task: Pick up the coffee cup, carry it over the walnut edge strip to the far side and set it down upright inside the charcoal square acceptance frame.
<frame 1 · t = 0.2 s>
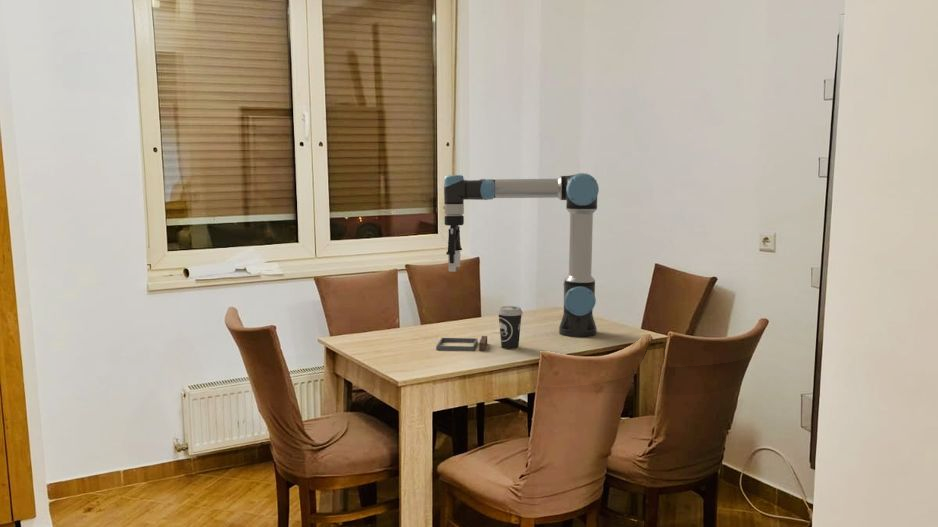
hand: (454, 269, 305), 28 cm above the table, fingers open, 13 cm apart
coffee cup: (509, 347, 293), on the table
edge strip: (483, 347, 293), on the table
acceptance frame: (457, 345, 295), on the table
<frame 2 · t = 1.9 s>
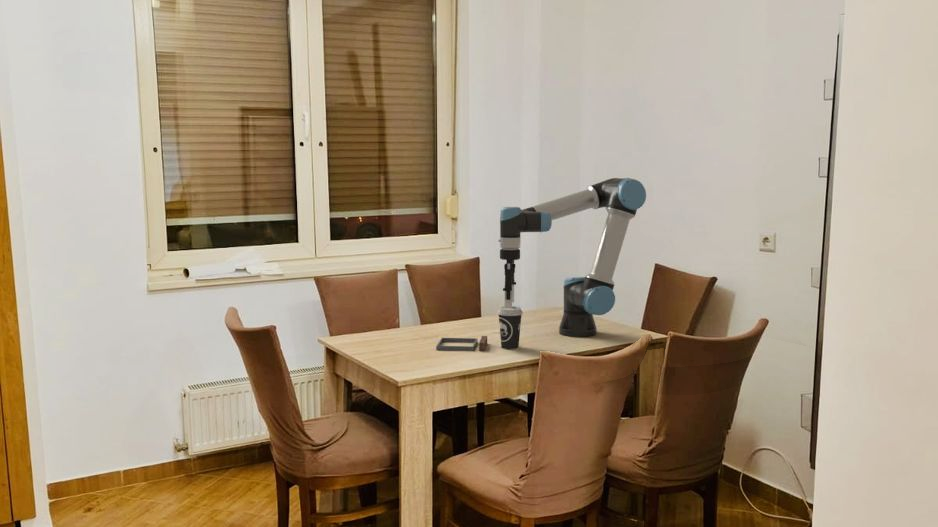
hand: (509, 305, 291), 16 cm above the table, fingers open, 13 cm apart
nothing on the table moved.
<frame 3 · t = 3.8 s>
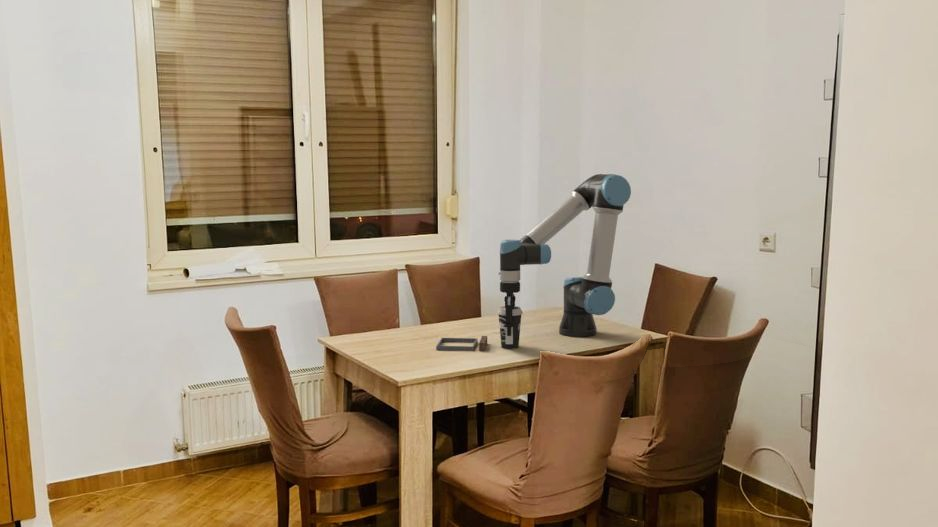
hand: (509, 341, 293), 2 cm above the table, fingers closed on coffee cup, 7 cm apart
coffee cup: (509, 347, 293), on the table, touching gripper
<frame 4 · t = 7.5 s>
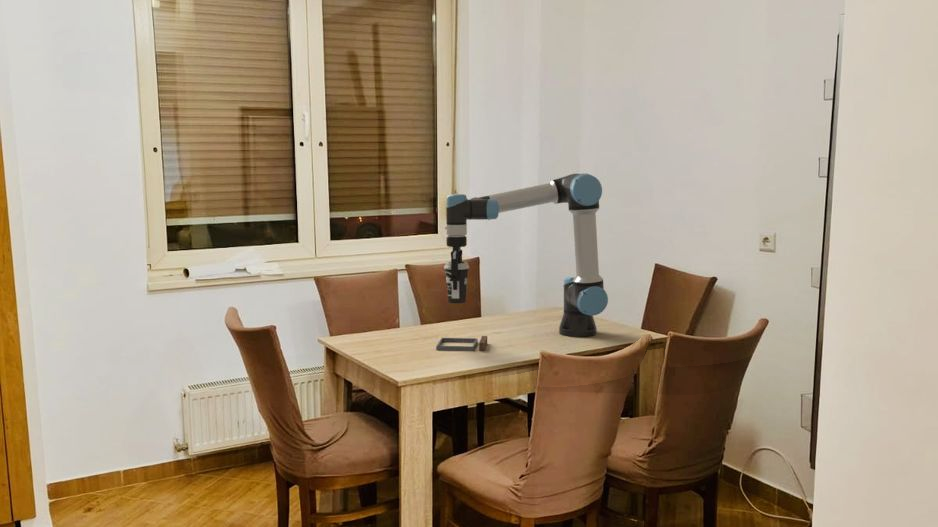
hand: (456, 296, 293), 19 cm above the table, fingers closed on coffee cup, 7 cm apart
coffee cup: (456, 302, 294), point 17 cm above the table, touching gripper
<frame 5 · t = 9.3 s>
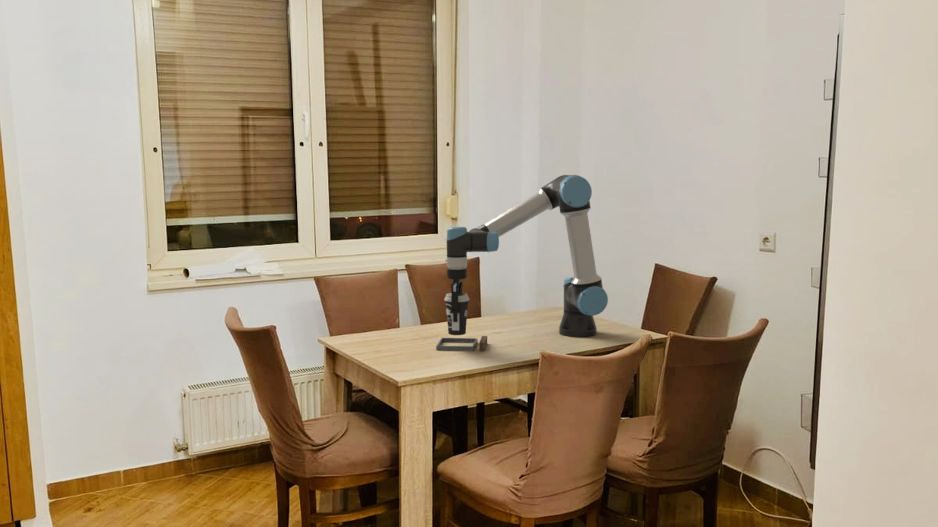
hand: (456, 328, 295), 7 cm above the table, fingers closed on coffee cup, 7 cm apart
coffee cup: (457, 333, 295), point 5 cm above the table, touching gripper
when the fingers open (4 cm above the table, at t = 11.0 s): coffee cup moves 3 cm, point 1 cm above the table.
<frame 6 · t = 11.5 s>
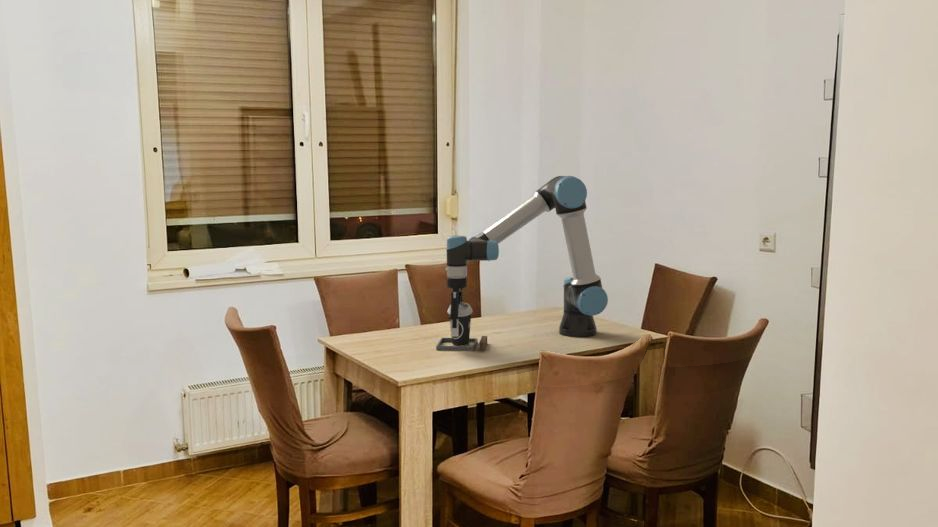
hand: (457, 332, 295), 5 cm above the table, fingers open, 13 cm apart
coffee cup: (460, 342, 299), point 1 cm above the table
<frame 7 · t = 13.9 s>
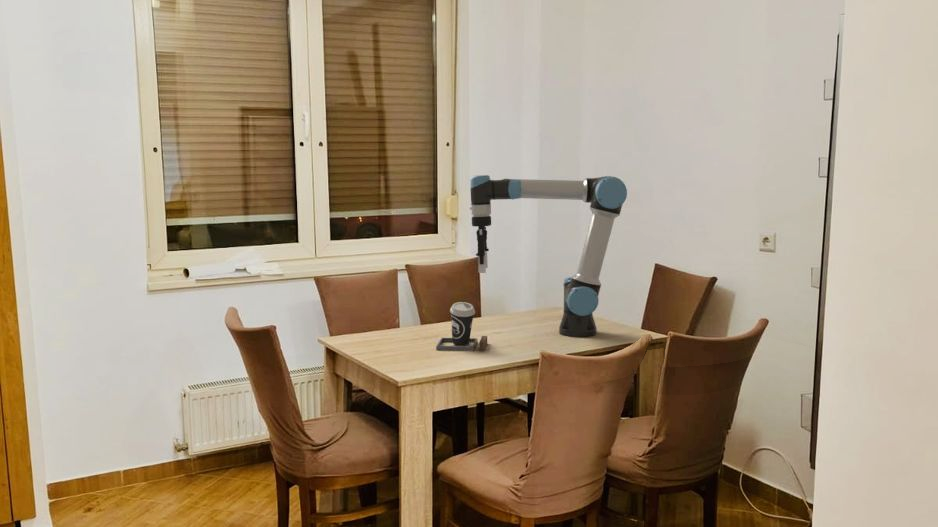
hand: (483, 270, 302), 28 cm above the table, fingers open, 13 cm apart
coffee cup: (460, 342, 299), point 1 cm above the table, touching acceptance frame
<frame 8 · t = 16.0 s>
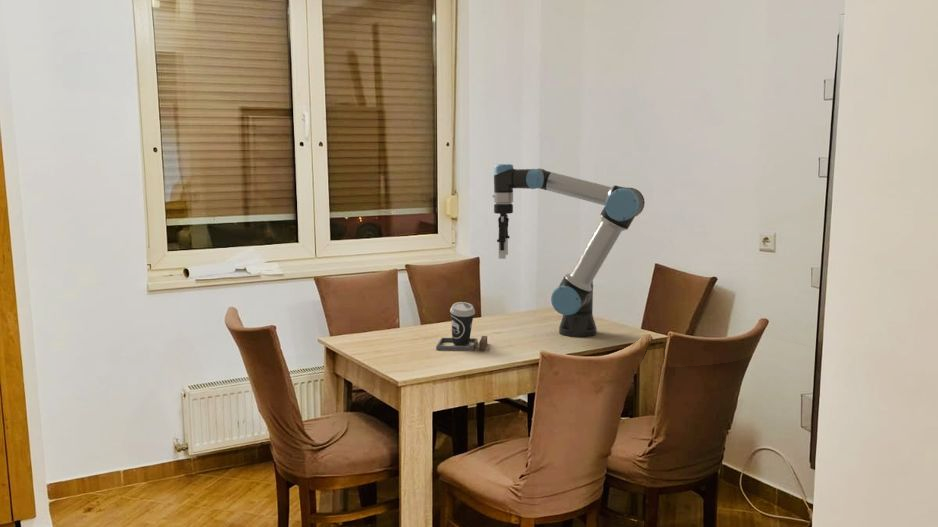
hand: (503, 256, 311), 32 cm above the table, fingers open, 13 cm apart
nothing on the table moved.
at the end: coffee cup 3.5 cm off-centre on the acceptance frame, point 0.6 cm above the acceptance frame's base; coffee cup tilted 14°; the gripper is holding nothing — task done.
